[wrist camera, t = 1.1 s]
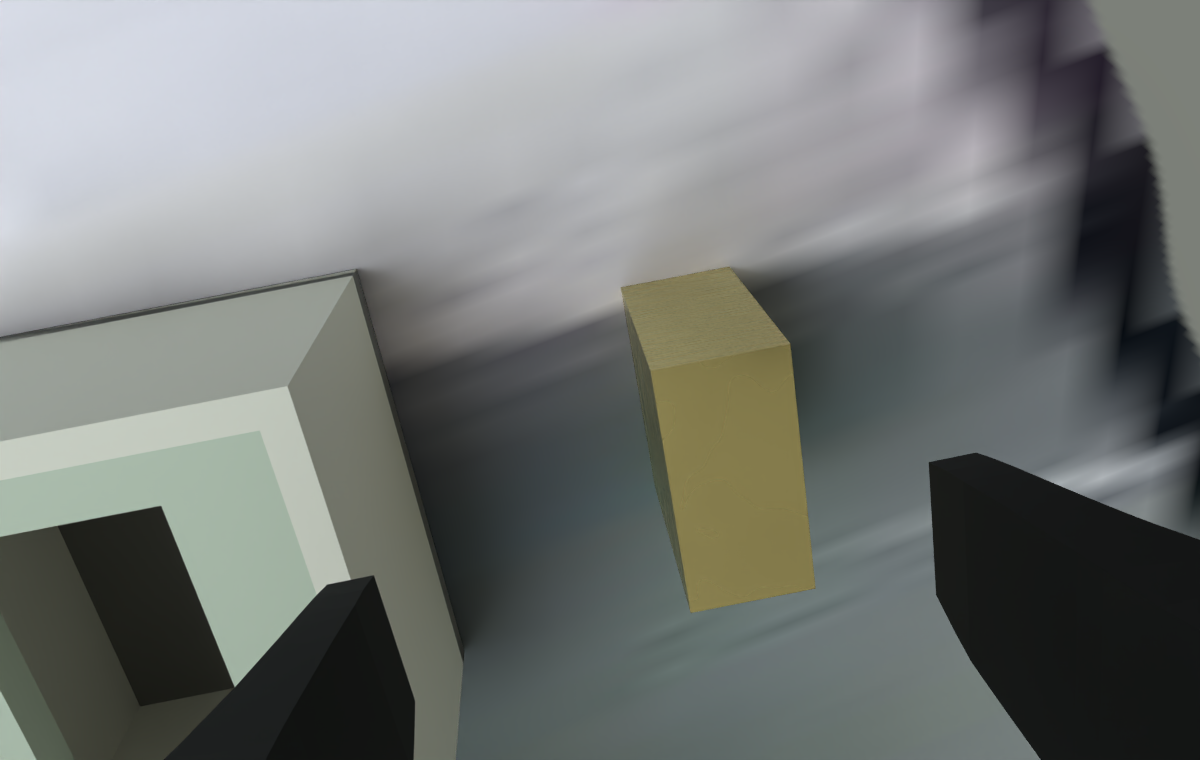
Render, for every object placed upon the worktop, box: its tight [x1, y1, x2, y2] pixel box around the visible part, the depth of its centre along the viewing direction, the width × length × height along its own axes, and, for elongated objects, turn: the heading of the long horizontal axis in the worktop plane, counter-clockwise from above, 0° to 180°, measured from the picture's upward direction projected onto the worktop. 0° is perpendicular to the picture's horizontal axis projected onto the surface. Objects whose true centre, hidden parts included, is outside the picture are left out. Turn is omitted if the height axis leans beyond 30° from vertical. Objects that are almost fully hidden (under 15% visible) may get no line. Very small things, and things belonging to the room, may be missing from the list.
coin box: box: [0, 269, 464, 760], centre depth 19 cm, size 10×8×6 cm
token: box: [621, 267, 815, 613], centre depth 19 cm, size 5×2×5 cm, turn 10°
